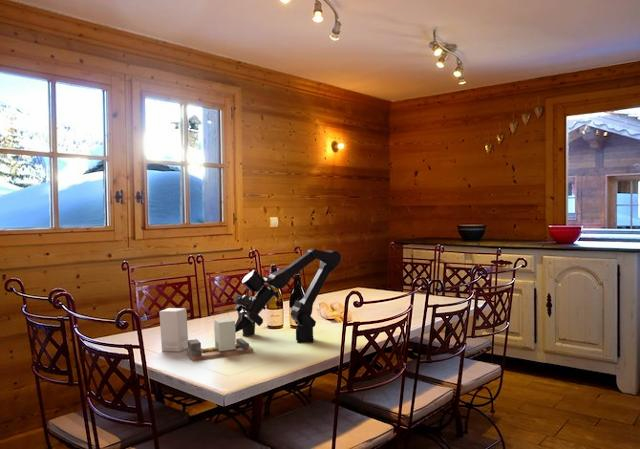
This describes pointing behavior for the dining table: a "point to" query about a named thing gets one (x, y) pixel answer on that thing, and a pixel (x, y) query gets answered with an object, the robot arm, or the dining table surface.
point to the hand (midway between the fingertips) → (233, 332)
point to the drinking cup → (250, 329)
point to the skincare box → (174, 329)
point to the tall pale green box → (225, 334)
